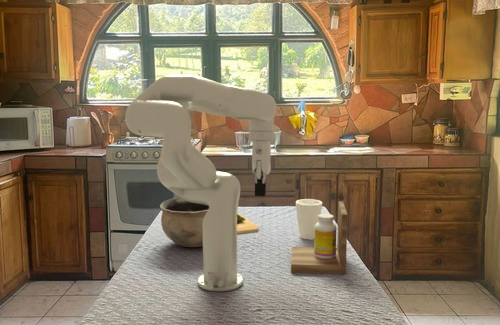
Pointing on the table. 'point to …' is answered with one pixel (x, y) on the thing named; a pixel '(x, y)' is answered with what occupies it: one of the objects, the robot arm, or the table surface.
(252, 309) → the table surface
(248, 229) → the cutting board
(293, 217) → the table surface
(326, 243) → the supplement bottle
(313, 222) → the foam cup
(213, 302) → the table surface
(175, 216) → the ceramic bowl
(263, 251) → the table surface
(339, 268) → the wooden bookend
